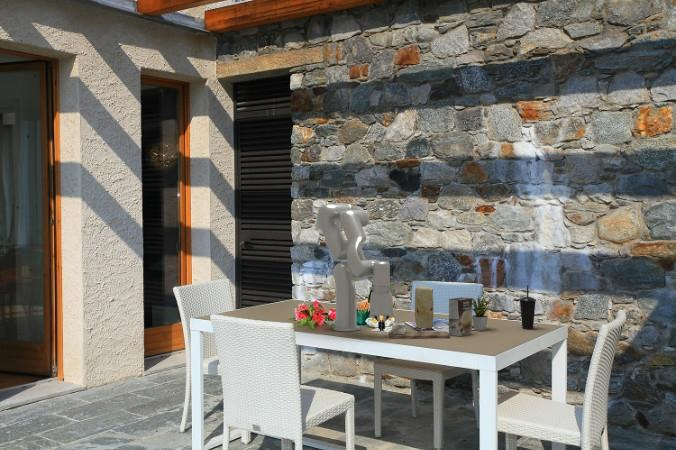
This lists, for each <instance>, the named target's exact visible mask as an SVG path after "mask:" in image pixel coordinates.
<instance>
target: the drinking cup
mask: <svg viewBox="0 0 676 450" xmlns="http://www.w3.org/2000/svg"><path fill="white" fill-rule="evenodd" d="M518 300H519V305H520V306H519V307H520V316H521V328H522V329H523V330H533V329H534V324H535V323H534V321H535V312H536V311H535V310H536V302H537V299H536V298H534V297H532V296H529V285H526V296H523V297H521V298H519V299H518Z"/></svg>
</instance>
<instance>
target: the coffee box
mask: <svg viewBox="0 0 676 450" xmlns="http://www.w3.org/2000/svg"><path fill="white" fill-rule="evenodd" d="M472 298H473V297H472ZM472 298H471V297H454V298H449V299H448V334H449V335H450V336H455V337H463V336H469V335H472V334H473V318H472V316H473V310H472V309H473V305H472V303H473V300H472Z"/></svg>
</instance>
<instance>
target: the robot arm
mask: <svg viewBox="0 0 676 450" xmlns="http://www.w3.org/2000/svg"><path fill="white" fill-rule="evenodd" d="M316 219H317V223H318V227H319V228H320V231H321V233H322V234H323V237H324V239H325V243H326V246H327V248H328V249H327V250H328V251H329V252H328V253H330V257H331V259H332V260H334V261H338V262H339V263H337V264H336V265H335V266H334V268H333V278H334V283H335V285H334V286H335V319H334V320H326V326H332V330H334V331H336V332H357V331H360V330H361V327H360V325H357V315H358V314H357V312H358V311H357V289H356V287H355V285H354V282H360V281H364V280H366V279H368V277H369V278H370V277H372V285H371V286H369V291H372V292H371V294H370V300H369V301H370V302H369V315H368V317H369V318H372V319H375V320H376V321H377V324H378V325H377V329H378V330H379V332H385V331H384V330H385V329H386V322H387V320H388V319H392V318H394V317H395V315H394V300H393V299H394V298H393V293H392V292H391V287H390V286H391V285H390V283H391V282H390V281H391V280H390V279H391V277H390V276H391V275H390V274H391V273H390V272H391V270H390V267H391V266H390V265H391V264H390V263H389V262H388V261H385V260H377V259H366V256H365V253H364V251H363V249H362V246H361V245H363V244H364V243H365V242H366V241H367V235H366V233H365V230H364V227H367V226H368V224H369V222H370V218H369V215H368V213H367V211H366V210H364V209H362V208H360V207H358V206H356V205H353V204H351V203H346V202H345V203H342V202H341V203H335V202H334V203H332V202H331V203H325V204H323V205H321V206H320V207H319V209H318V211H317V217H316ZM335 222H340V225H341V227H342V230H343V232H344V234H345V236H346V239H345V237H344V235H343V232H342V230H341V228H340V227H339V226H338V225H337V223H335ZM381 317H382V319H381Z"/></svg>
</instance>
